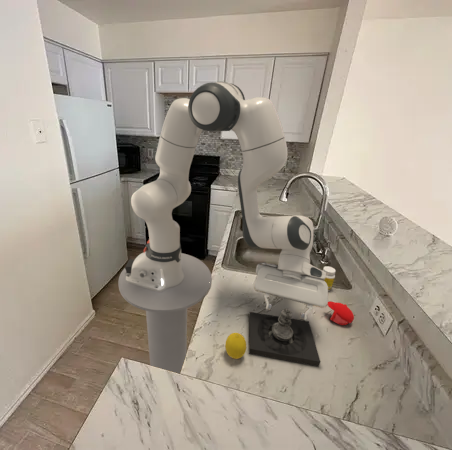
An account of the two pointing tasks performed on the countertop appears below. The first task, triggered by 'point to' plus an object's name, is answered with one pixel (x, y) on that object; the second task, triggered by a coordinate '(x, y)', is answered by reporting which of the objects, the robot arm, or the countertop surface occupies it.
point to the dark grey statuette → (282, 328)
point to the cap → (341, 313)
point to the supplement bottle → (329, 276)
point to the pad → (266, 346)
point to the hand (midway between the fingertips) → (285, 315)
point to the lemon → (235, 345)
